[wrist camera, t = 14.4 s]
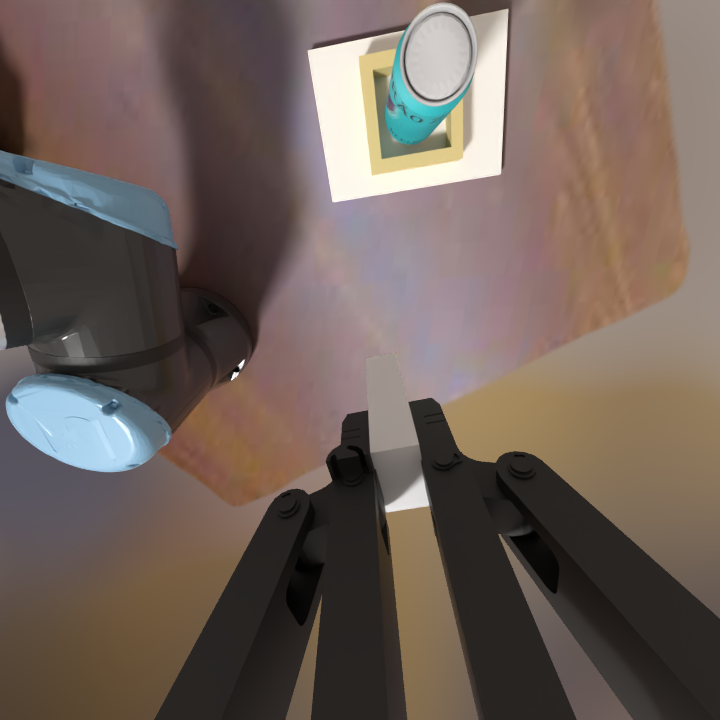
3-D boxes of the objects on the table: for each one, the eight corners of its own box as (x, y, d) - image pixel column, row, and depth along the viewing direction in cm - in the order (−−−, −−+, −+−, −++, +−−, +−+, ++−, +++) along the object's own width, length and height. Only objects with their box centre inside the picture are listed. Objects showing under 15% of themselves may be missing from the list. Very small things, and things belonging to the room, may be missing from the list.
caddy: (333, 202, 39) (330, 201, 36) (309, 54, 33) (303, 38, 29) (497, 175, 37) (509, 171, 34) (504, 14, 31) (519, -8, 28)
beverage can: (389, 77, 33) (406, -15, 19) (442, 87, 33) (496, 5, 19) (379, 142, 35) (388, 102, 22) (428, 151, 35) (468, 117, 22)
